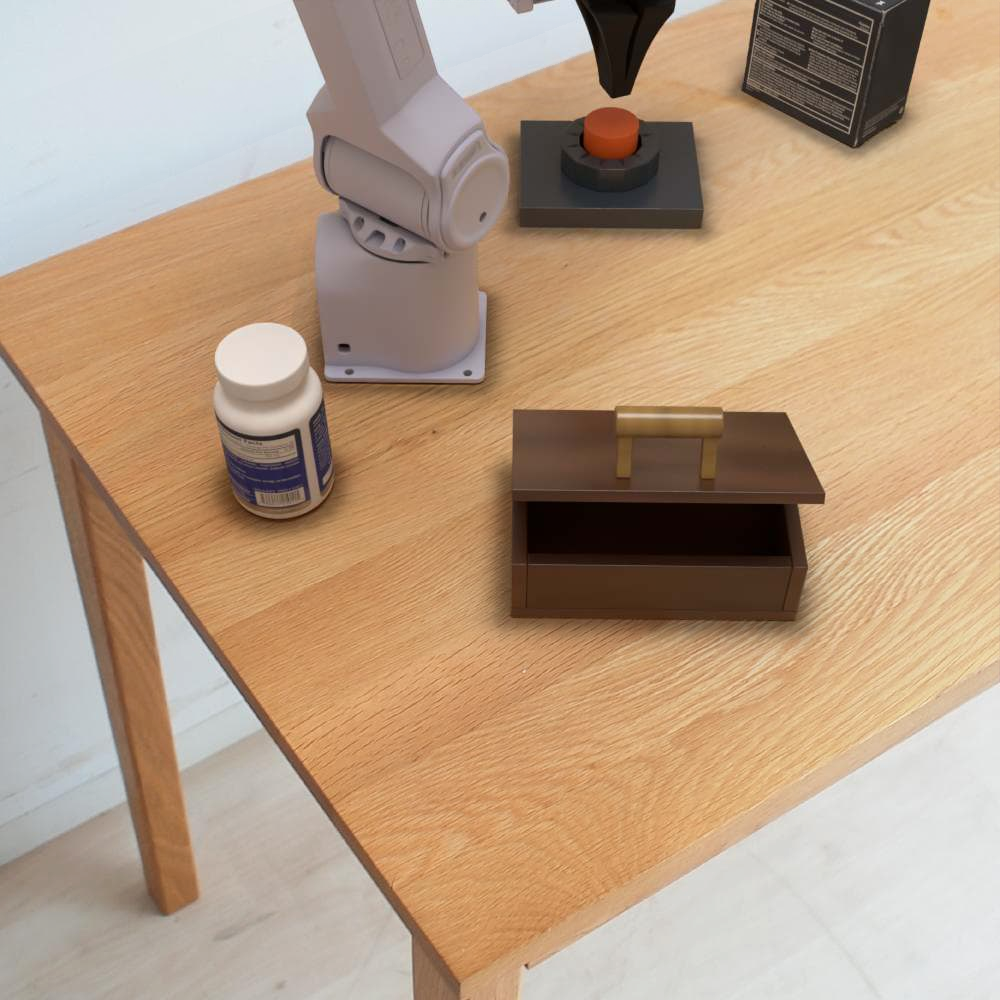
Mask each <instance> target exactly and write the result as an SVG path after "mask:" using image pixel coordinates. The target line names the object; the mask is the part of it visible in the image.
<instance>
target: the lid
mask: <svg viewBox="0 0 1000 1000" xmlns="http://www.w3.org/2000/svg"><path fill="white" fill-rule="evenodd" d="M511 452H512V453H511V459H512V460H511V502H512V501H571V502H662V503H753V504H798V505H825V503H826V495H827V494H826V491H825V489H824V487H823V485H822V483H821V480H820V479H819V477H818V475H817V473H816V471H815V469H814V466H813V464H812V463H811V460H810V458H809V456H808V454H807V452H806V450H805V448H804V446H803V444H802V442H801V440H800V438H799V436H798V434H797V432H796V430H795V428H794V425H793V423H792V421H791V419H790V418H789V416H788V413H787V412H786V411H726V410H725V411H724V409H723V407H722V406H697V405H696V406H695V405H694V406H691V405H690V406H686V405H684V406H683V405H615V406H614V410H611V409H527V408H525V409H522V408H521V409H519V408H517V409H516V408H514V409H512V451H511Z"/></svg>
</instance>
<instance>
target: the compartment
mask: <svg viewBox="0 0 1000 1000" xmlns="http://www.w3.org/2000/svg"><path fill="white" fill-rule="evenodd" d="M800 515H801V514H800V508H799V504H753V503H662V502H571V501H512V500H511V536H510V537H511V539H510V540H511V541H510V545H511V546H510V548H511V549H510V554H511V555H510V617H511V618H541V619H542V618H544V619H545V618H547V619H548V618H549V619H550V618H551V619H553V618H554V619H555V618H556V619H569V618H570V619H631V620H632V619H634V620H636V619H638V620H639V619H642V620H713V621H714V620H716V621H717V620H719V621H723V620H725V621H729V620H730V621H795V620H796V618H797V614H798V610H799V607H800V603H801V598H802V594H803V591H804V587H805V582H806V579H807V574H808V571H809V564H808V558H807V551H806V545H805V540H804V534H803V528H802V522H801V516H800Z"/></svg>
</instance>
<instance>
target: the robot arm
mask: <svg viewBox="0 0 1000 1000" xmlns="http://www.w3.org/2000/svg"><path fill="white" fill-rule="evenodd" d="M506 1H507V2H508V4H509V5H510V7H511V8H512V9H513V10H514V11H515V13H516V14H517V15H521V14H525V13H529V12H532V11H533V10H534V5H538V4H542V3H543V4H544V3H548V2H553V1H554V0H506ZM574 2H575V3H576V5H577V8H578V10H579V12H580V14H581V17H582V19H583V21H584V24H585V27H586V30H587V32H588V35H589V38H590V39H589V40H590V41H591V46H592V49H593V53H594V58H595V63H596V67H597V75H598V83H599V84H598V85H600V86H601V88H602V89H603V90H604V92H605V93H606V95H608V96H609V98H610V99H611V100H615V99H619V98H623V97H626V96H631V94H632V92H633V90H634V89H633V88H634V87H635V84H636V80H637V78H638V75H639V72H640V69H641V66H642V65H643V62H644V60H645V57H646V55H647V53H648V51H649V49H650V47H651V45H652V43H653V42H654V40H655V38H656V37H657V35H658V34H659V32H660V30H661V29H662V28H663V26H664V25H665V23H666V22H667V21H668V20H669V19H670V18H671V16H672V15H673V14H675V10H676V4H677V0H574ZM292 3H293V5H294V7H295V10H296V13H297V15H298V18H299V20H300V23H301V25H302V28H303V30H304V33H305V35H306V39H307V41H308V42H309V46H310V48H311V51H312V52H313V55H314V58H315V60H316V62H317V64H318V68H319V70H320V73H321V75H322V77H323V80H324V84H323V85H321V88H320V89H319V90H318V91H317V93H316V94H315V96H314V98H313V99H312V101H311V103H310V105H309V107H308V108H307V110H306V113H305V116H306V119H307V122H308V124H309V126H310V130H311V133H312V139H313V151H312V152H313V153H312V156H313V157H312V163H313V170H314V174H315V178H316V179H317V182H318V184H319V185H320V186H321V187H322V189H324V190H325V191H326V192H327V193H330V194H331V195H333V196H334V195H335V196H337V198H338V207H339V209H337V210H332V211H327V212H326V211H325V212H321V213H320V214H319V215H318V219H317V222H316V229H315V239H314V240H315V241H314V279H315V293H316V294H315V295H316V302H317V309H318V311H317V312H318V318H319V319H318V320H319V326H320V327H319V328H320V335H321V341H322V343H321V344H322V351H323V359H324V371H323V374H324V379H325V380H326V381H328V382H330V383H405V384H407V383H415V384H416V383H417V384H419V383H421V384H423V383H424V384H480V383H482V382H483V381H484V380H485V378H486V377H485V375H486V372H485V371H486V342H487V341H486V340H487V314H488V313H487V312H488V309H487V307H488V295H487V293H486V292H484V291H483V290H480V289H479V288H480V287H479V283H480V281H479V243H480V242H481V241H482V240H484V239H485V238H486V237H487V236H488V235H489V234H490V232H492V230H493V228H494V227H495V226H496V224H497V222H498V221H499V219H500V218H501V215H502V213H503V211H504V209H505V207H506V204H507V200H508V196H509V193H510V185H511V173H510V162H509V159H508V155H507V153H506V151H505V149H504V148H503V147H502V146H501V145H500V144H498V143H496V142H495V141H493V140H492V139H491V137H490V136H489V134H488V132H487V129H486V126H485V122H484V120H483V118H482V116H481V115H480V114H479V113H478V112H477V111H476V110H475V109H474V107H472V105H470V104H469V103H468V102H467V101H466V100H465V99H464V98H463V97H462V96H461V95H460V94H459V93H458V92H457V91H456V90H455V89H454V88H453V87H451V85H450V84H449V83H447V82H446V80H444V79H443V77H442V76H441V75H440V74H439V73H438V70H437V66H436V63H435V59H434V56H433V53H432V50H431V46H430V43H429V39H428V37H427V32H426V30H425V27H424V23H423V19H422V16H421V14H420V13H421V12H420V9H419V7H418V3H417V0H292Z"/></svg>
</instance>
